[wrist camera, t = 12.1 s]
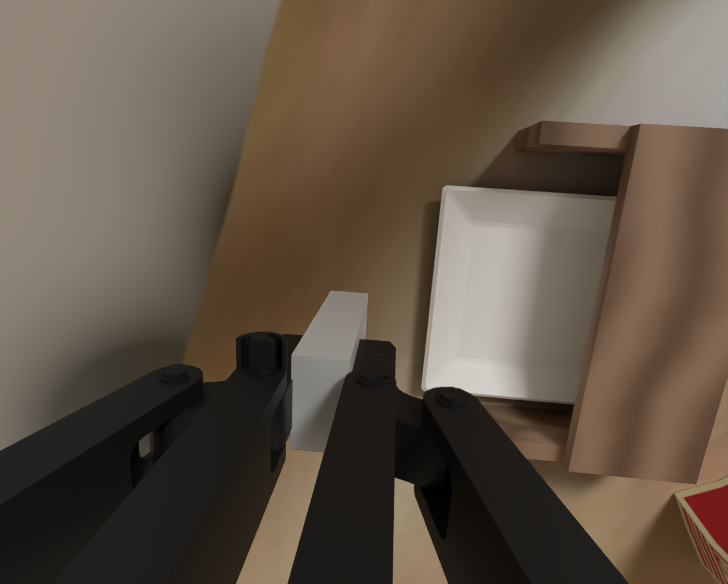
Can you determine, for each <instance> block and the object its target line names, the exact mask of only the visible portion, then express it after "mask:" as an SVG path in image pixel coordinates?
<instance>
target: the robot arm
mask: <svg viewBox="0 0 728 584" xmlns="http://www.w3.org/2000/svg"><path fill="white" fill-rule="evenodd" d="M367 306H368V293H356V292H343V291H330V293H329V295H328V296H327V298H326V299H325V301H324V303H323V304H322V306H321V308H320V309H319V311H318V313H317V314H316V316H315V317H314V319H313V321H312V322H311V324H310V326H309V327H308V329H307V331H306V332H305V334H304V335H292V334H284V335H281V334H278V333H273V332H253V333H247V334H244V335H241V336H239V337H238V338H236V358H237V368H236V369H235V371H234V372H233V373H232V374H231V375H230V376H229V378H228V379H227V380H226V381H219V382H205V383H203V372H202V371H201V370H200V369H199V368H197V367H194V366H188V365H184V364H179V365H177V364H176V365H170V366H168V367H163V368H160V369H158V370H155V371H153V372H151V373H149V374H147V375H145V376H143V377H141V378H139V379H137V380H135V381H133V382H132V383H130V384H128V385H126V386H124V387H122V388H120V389H118V390H116V391H114V392H112V393H110V394H109V395H107V396H105V397H103V398H101V399H99V400H97V401H95V402H93V403H92V404H89V405H87V406H86V407H84V408H82V409H80V410H78V411H76V412H74V413H72V414H70V415H68V416H66V417H64V418H62V419H61V420H59V421H57V422H55V423H53V424H51V425H49V426H47V427H45V428H43V429H41V430H39V431H37V432H36V433H34V434H32V435H30V436H28V437H26V438H24V439H22V440H20V441H18V442H16V443H15V444H13V445H11V446H9V447H7V448H5V449H3V450H1V451H0V584H236V582H237V580H238V577H239V575H240V572H241V570H242V567H243V565H244V562H245V560H246V557H247V555H248V552H249V550H250V547H251V545H252V542H253V540H254V537H255V535H256V532H257V530H258V527H259V525H260V522H261V520H262V517H263V515H264V512H265V510H266V507H267V505H268V502H269V500H270V497H271V495H272V492H273V490H274V487H275V485H276V482H277V480H278V477H279V475H280V472H281V470H282V467H283V465H284V462H285V457H286V441H287V439H288V436H289V434H290V449H294V450H304V451H314V452H324V455H323V458H322V462H321V466H320V469H319V473H318V476H317V480H316V484H315V487H314V491H313V494H312V498H311V502H310V505H309V509H308V512H307V516H306V519H305V523H304V527H303V530H302V534H301V537H300V541H299V545H298V548H297V552H296V555H295V559H294V563H293V566H292V570H291V573H290V577H289V581H288V584H393V531H394V479H395V478H398V479H401V480H404V481H407V482H410V483H412V484H414V494H415V497H416V500H417V503H418V505H419V508H420V511H421V513H422V516H423V518H424V521H425V524H426V526H427V529H428V532H429V534H430V537H431V540H432V542H433V545H434V547H435V550H436V553H437V555H438V558H439V561H440V563H441V566H442V568H443V571H444V574H445V576H446V579H447V582H448V584H629V583H628V582H627V581H626V580H625V578H624V577H623V576H622V575H621V574H620V572H619V571H618V570H617V569H616V567H615V566H614V565H613V564H612V563H611V561H610V560H609V559H608V558H607V556H606V555H605V554H604V553H603V552H602V550H601V549H600V548H599V547H598V545H597V544H596V543H595V542H594V541H593V539H592V538H591V537H590V536H589V535H588V533H587V532H586V531H585V530H584V528H583V527H582V526H581V525H580V524H579V522H578V521H577V520H576V519H575V517H574V516H573V515H572V514H571V513H570V511H569V510H568V509H567V508H566V506H565V505H564V504H563V503H562V502H561V500H560V499H559V498H558V497H557V495H556V494H555V493H554V492H553V491H552V489H551V488H550V487H549V486H548V484H547V483H546V482H545V481H544V480H543V478H542V477H541V476H540V475H539V473H538V472H537V471H536V470H535V469H534V467H533V466H532V465H531V464H530V463H529V461H528V460H527V459H526V458H525V456H524V455H523V454H522V453H521V452H520V450H519V449H518V448H517V447H516V445H515V444H514V443H513V442H512V441H511V439H510V438H509V437H508V436H507V434H506V433H505V432H504V431H503V430H502V428H501V427H500V426H499V425H498V423H497V422H496V421H495V420H494V419H493V417H492V416H491V415H490V414H489V412H488V411H487V410H486V409H485V408H484V406H483V405H482V404H481V403H480V401H479V400H478V399H477V398H476V397H474V396H473V395H472V394H470V393H468V392H466V391H464V390H462V389H460V388H455V387H451V386H449V387H435V388H432V389H429V390H427V391H426V392H425V394H424V395H423V399H419V398H416V397H413V396H410V395H408V394H406V393H404V392H402V391H401V390H399V389H398V387H397V386H396V380H395V360H396V348H395V347H394V346H393V344H392V343H391V342H390V341H378V340H366V339H365V337H366V322H367ZM147 434H149V440H150V452H149V453H148V454H147V455H145V456H144V457H140V454H139V443H138V442H139V441H140V440H141V439H142V438H143V437H144V436H146V435H147Z"/></svg>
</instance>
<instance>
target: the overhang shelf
mask: <svg viewBox="0 0 728 584" xmlns="http://www.w3.org/2000/svg"><path fill="white" fill-rule="evenodd" d="M516 150H519V151H535V152H551V153H567V154H583V155H599V156H615V157H625V159H624V164H623V169H622V174H621V179H620V183H619V188H618V193H617V198H616V203H615V208H614V213H613V218H612V223H611V228H610V232H609V237H608V242H607V247H606V252H605V257H604V262H603V267H602V272H601V277H600V281H599V286H598V291H597V296H596V301H595V306H594V311H593V316H592V321H591V326H590V330H589V335H588V340H587V345H586V350H585V355H584V360H583V365H582V370H581V375H580V379H579V384H578V389H577V394H576V399H575V404H574V409H573V413H569V412H558V411H547V410H537V409H526V408H515V407H504V406H494V405H483V404H482V405H483V406H484V408H485V409H486V410H487V411H488V412H489V414H490V415H491V416H492V417H493V419H494V420H495V421H496V422H497V423H498V425H499V426H500V427H501V428H502V430H503V431H504V432H505V433H506V434H507V436H508V437H509V438H510V439H511V441H512V442H513V443H514V444H515V445H516V447H517V448H518V449H519V450H520V452H521V453H522V454H523V455H524V456H525V458H526V459H534V460H545V461H555V462H563V464H564V465H565V467H566V469H567V470H568V472H578V473H588V474H598V475H608V476H618V477H628V478H638V479H648V480H658V481H668V482H678V483H688V484H696V482H697V479H698V476H699V472H700V469H701V465H702V462H703V459H704V455H705V452H706V448H707V445H708V442H709V438H710V435H711V431H712V428H713V425H714V421H715V418H716V414H717V411H718V408H719V404H720V401H721V397H722V394H723V391H724V387H725V384H726V380H727V377H728V129H721V128H704V127H687V126H670V125H653V124H638V125H634V126H620V125H603V124H586V123H569V122H552V121H541V122H539V123H536V124H534V125H532V126H530V127H527V128H525V129H523V130H520V131H518V138H517V145H516Z"/></svg>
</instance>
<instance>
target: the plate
mask: <svg viewBox="0 0 728 584" xmlns="http://www.w3.org/2000/svg"><path fill="white" fill-rule="evenodd" d="M616 198H617V197H613V196H598V195H583V194H568V193H553V192H538V191H523V190H508V189H493V188H478V187H463V186H448V185H446V186H445V187H444V188H442V197H441V206H440V216H439V225H438V235H437V244H436V253H435V263H434V272H433V281H432V291H431V300H430V310H429V319H428V328H427V338H426V347H425V356H424V366H423V375H422V385H421V388H422V390H423V391H427V390H429V389H432V388H435V387H449V386H451V387H455V388H460V389H462V390H464V391H466V392H468V393H470V394H472V395H473V396H484V397H495V398H506V399H517V400H528V401H539V402H550V403H561V404H572V405H574V404H575V399H576V394H577V389H578V384H579V379H580V375H581V370H582V365H583V360H584V355H585V350H586V345H587V340H588V335H589V330H590V326H591V321H592V316H593V311H594V306H595V301H596V296H597V291H598V286H599V281H600V277H601V272H602V267H603V262H604V257H605V252H606V247H607V242H608V237H609V232H610V228H611V223H612V218H613V213H614V208H615V203H616Z"/></svg>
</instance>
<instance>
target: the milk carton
mask: <svg viewBox="0 0 728 584" xmlns="http://www.w3.org/2000/svg"><path fill="white" fill-rule="evenodd" d="M674 495H675V498H676V501H677V503H678V506H679V509H680V512H681V515H682V518H683V520H684V523H685V526H686V529H687V531H688V534H689V536H690V539H691V541H692V543H693V546H694V548H695V551H696V553H697V555H698V558H699V560H700V563H701V564H702V565H703V566H704V567H705V569H706V570H707V571H708V572H709V573H710V574H711V575H712V576H713V577H714V579H715V580H716V581H717V582H718V583H719V584H728V476H727V477H725V478H723V479H721V480H719V481H716V482H712V483H708V484H705V485H701V486H698V487H694V488H690V489H687V490H683V491H679V492H676V493H674Z"/></svg>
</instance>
